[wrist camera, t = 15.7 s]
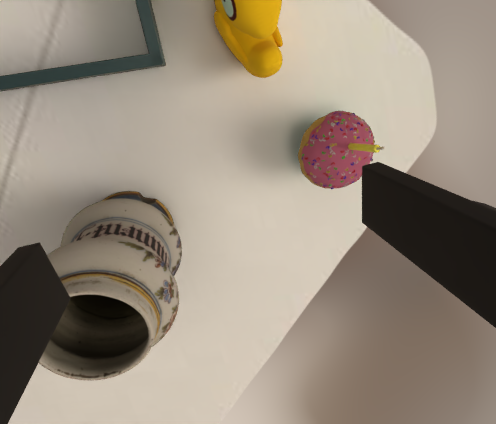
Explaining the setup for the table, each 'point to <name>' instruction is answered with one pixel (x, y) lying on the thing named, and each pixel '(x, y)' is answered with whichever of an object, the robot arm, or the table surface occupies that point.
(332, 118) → the cupcake
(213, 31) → the table surface
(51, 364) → the apothecary jar
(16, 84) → the rectangular frame
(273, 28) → the duckling
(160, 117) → the table surface
